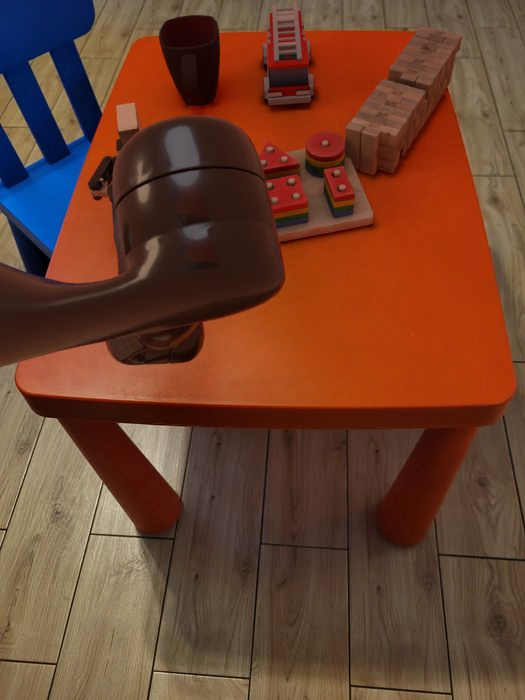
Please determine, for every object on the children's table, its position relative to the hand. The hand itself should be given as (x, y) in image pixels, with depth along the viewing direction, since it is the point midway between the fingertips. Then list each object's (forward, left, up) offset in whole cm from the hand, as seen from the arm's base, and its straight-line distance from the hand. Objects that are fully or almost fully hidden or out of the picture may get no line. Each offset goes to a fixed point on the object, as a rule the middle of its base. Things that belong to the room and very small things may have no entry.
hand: (135, 138), depth 85 cm
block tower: (+44, +2, -13) cm, 46 cm away
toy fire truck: (+31, +21, -13) cm, 40 cm away
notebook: (-1, -3, -6) cm, 7 cm away
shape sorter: (+22, -8, -13) cm, 26 cm away
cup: (+14, +22, -13) cm, 29 cm away
